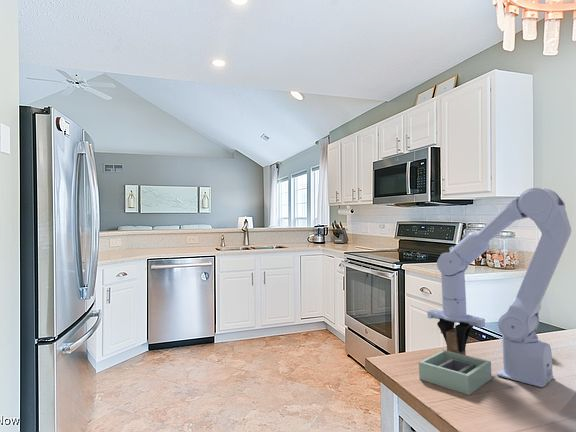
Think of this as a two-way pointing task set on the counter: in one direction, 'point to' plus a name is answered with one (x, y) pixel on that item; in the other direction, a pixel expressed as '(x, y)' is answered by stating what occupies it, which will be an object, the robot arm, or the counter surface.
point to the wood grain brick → (453, 341)
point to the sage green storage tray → (455, 371)
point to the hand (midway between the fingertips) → (456, 349)
